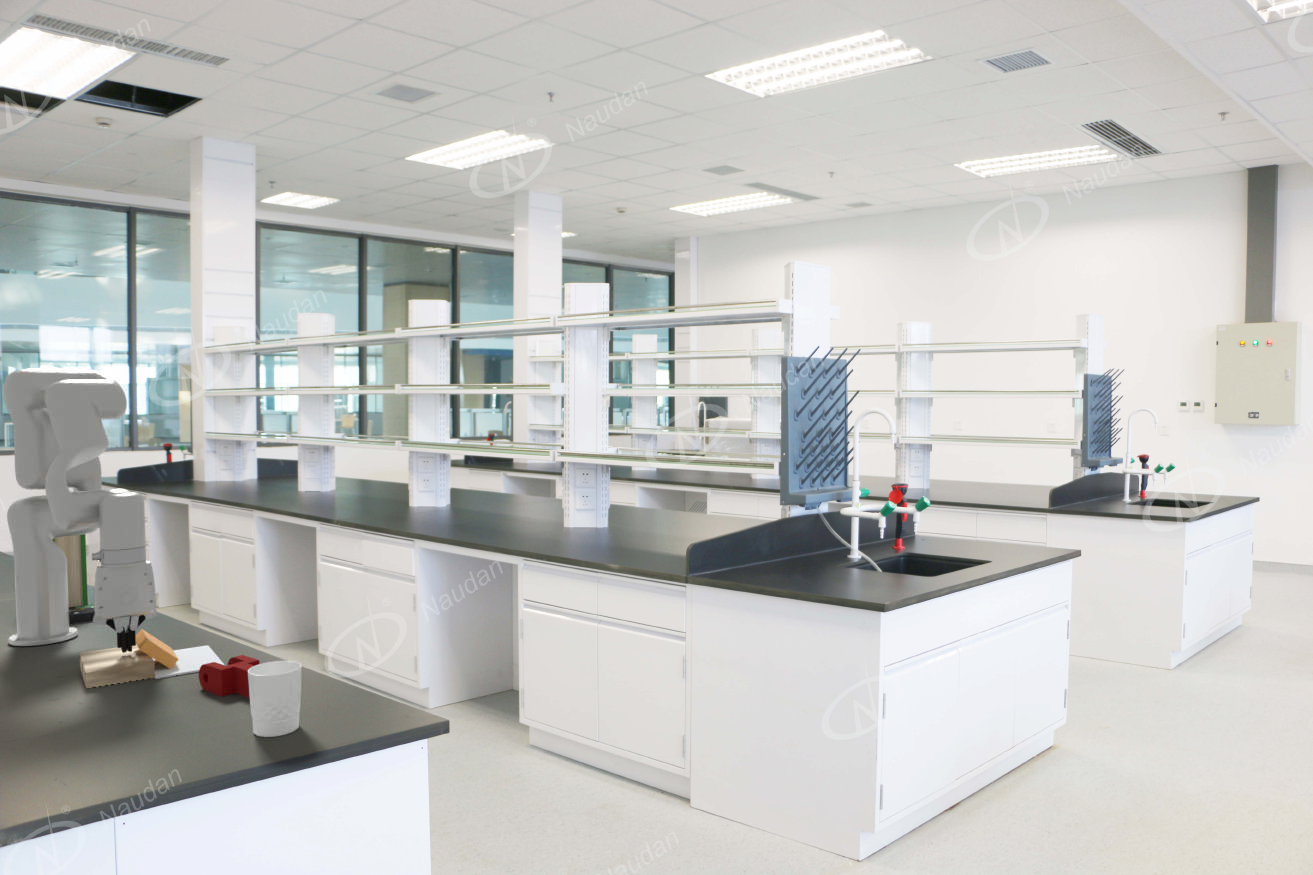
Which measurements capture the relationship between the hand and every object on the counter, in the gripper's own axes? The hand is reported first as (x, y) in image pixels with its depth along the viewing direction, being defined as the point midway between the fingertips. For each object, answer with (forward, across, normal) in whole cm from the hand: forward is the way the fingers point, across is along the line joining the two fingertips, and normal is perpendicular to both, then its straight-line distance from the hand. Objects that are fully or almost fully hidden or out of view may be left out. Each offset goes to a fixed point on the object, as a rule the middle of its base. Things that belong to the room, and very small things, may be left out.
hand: (126, 650), depth 174 cm
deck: (+4, -2, 0) cm, 4 cm away
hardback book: (+4, -8, +73) cm, 74 cm away
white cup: (+4, +16, -50) cm, 53 cm away
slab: (+1, +4, 0) cm, 4 cm away
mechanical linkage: (+5, +16, -26) cm, 31 cm away
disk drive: (+5, -5, +56) cm, 56 cm away
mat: (+4, +10, 0) cm, 11 cm away
